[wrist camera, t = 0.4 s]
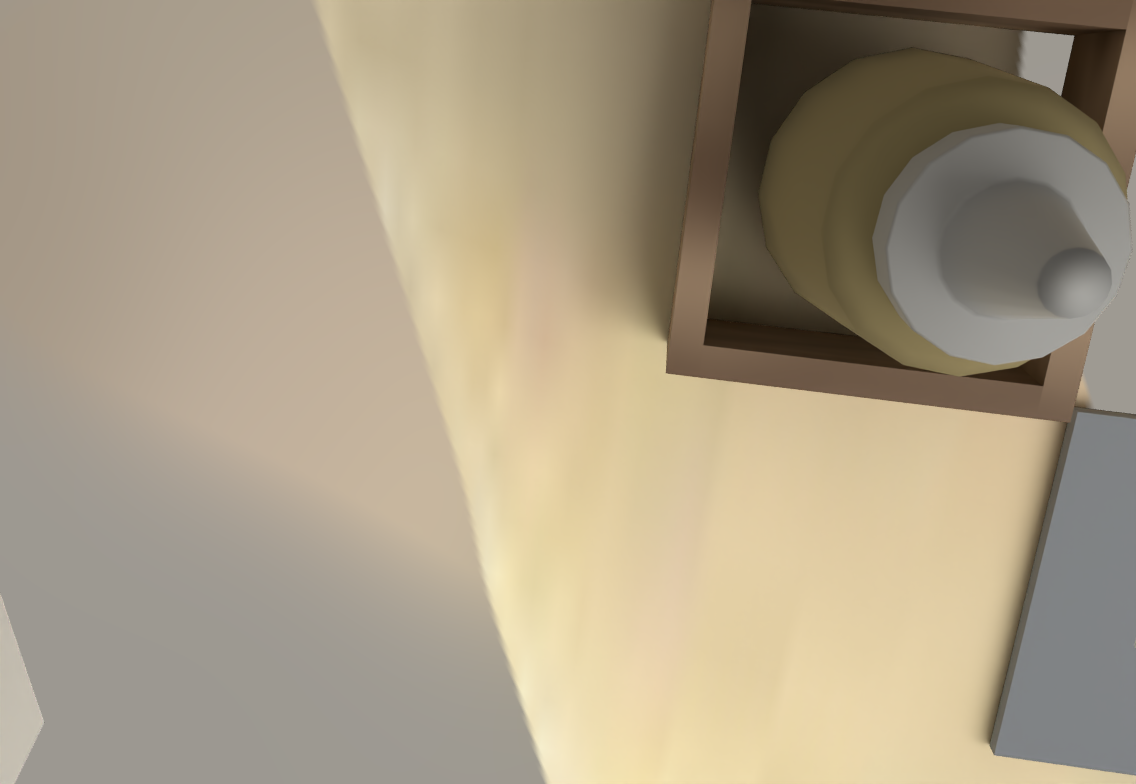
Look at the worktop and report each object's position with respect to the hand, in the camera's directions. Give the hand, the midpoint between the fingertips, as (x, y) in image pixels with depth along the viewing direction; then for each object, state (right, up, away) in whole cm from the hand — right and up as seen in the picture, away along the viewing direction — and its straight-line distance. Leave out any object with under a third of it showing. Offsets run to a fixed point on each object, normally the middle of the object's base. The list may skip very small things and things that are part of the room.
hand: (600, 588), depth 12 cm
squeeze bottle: (+10, +9, +23) cm, 26 cm away
